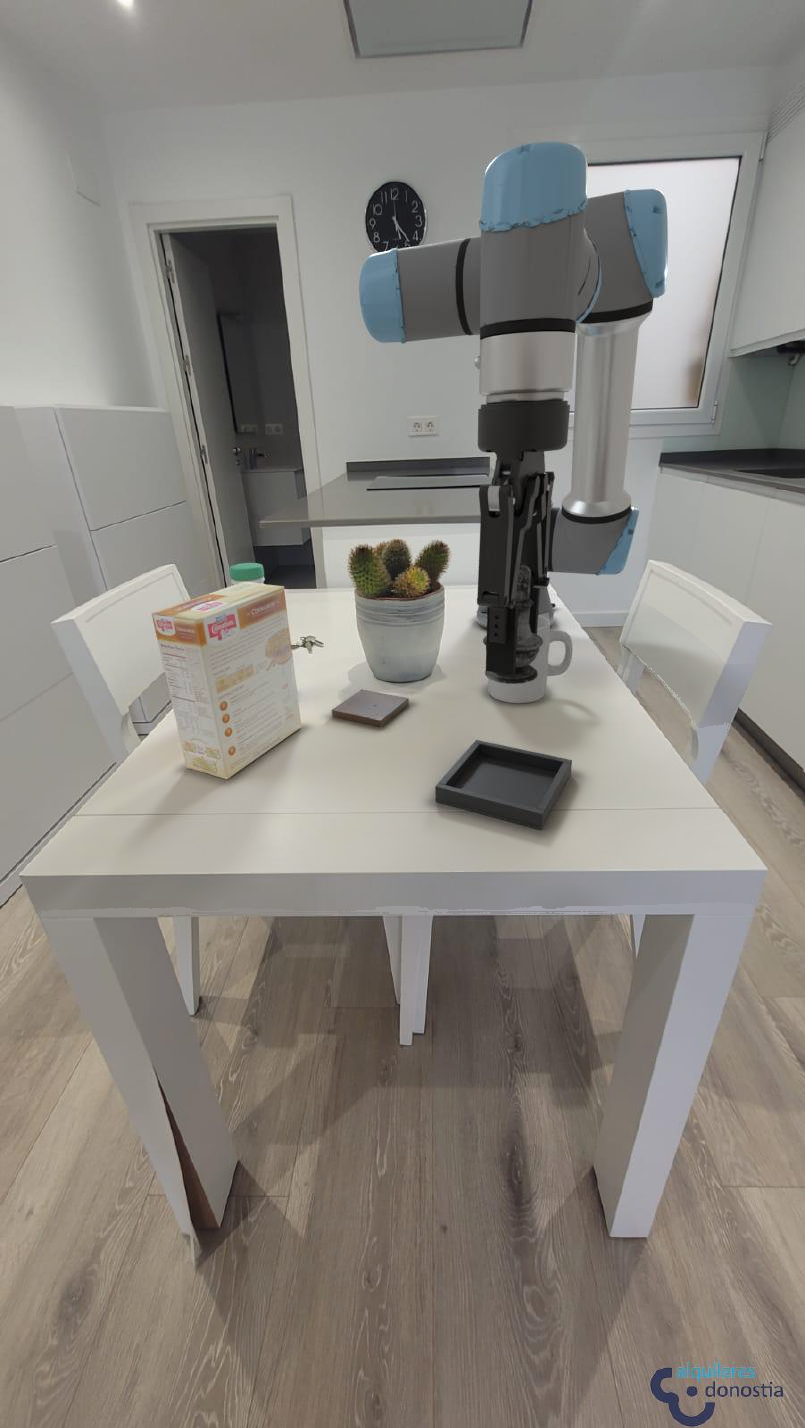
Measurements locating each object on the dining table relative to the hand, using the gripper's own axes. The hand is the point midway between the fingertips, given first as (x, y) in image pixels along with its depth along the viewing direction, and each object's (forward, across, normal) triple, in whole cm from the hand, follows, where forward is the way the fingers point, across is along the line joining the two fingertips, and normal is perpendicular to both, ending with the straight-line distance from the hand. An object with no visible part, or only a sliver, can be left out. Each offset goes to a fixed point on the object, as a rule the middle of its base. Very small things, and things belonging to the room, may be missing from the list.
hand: (511, 659), depth 59 cm
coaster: (+15, -11, -24) cm, 30 cm away
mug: (+15, -26, -6) cm, 31 cm away
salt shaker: (+2, 0, 0) cm, 2 cm away
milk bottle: (+15, -8, -41) cm, 44 cm away
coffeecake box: (+15, +5, -33) cm, 37 cm away
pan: (+15, 0, 0) cm, 15 cm away
